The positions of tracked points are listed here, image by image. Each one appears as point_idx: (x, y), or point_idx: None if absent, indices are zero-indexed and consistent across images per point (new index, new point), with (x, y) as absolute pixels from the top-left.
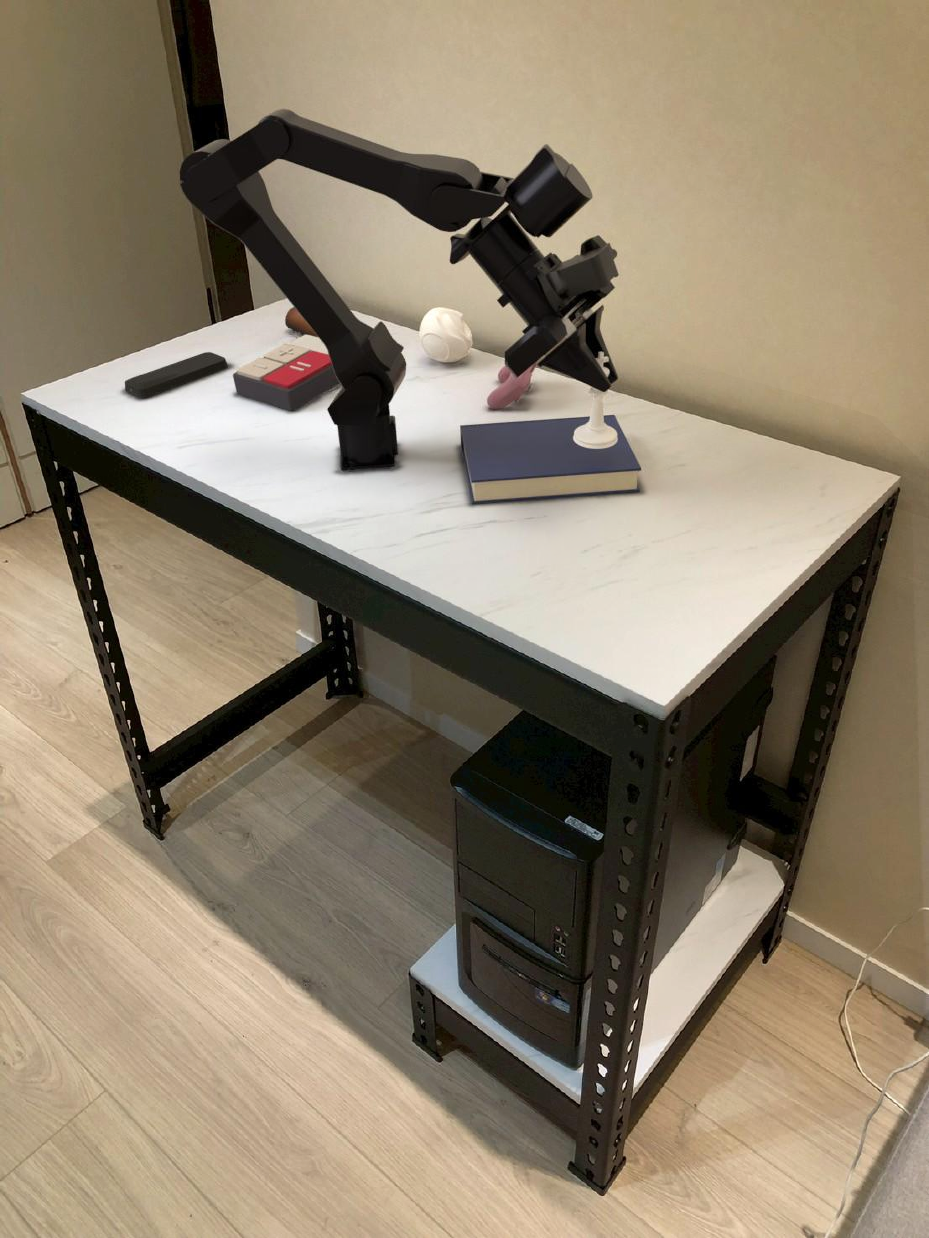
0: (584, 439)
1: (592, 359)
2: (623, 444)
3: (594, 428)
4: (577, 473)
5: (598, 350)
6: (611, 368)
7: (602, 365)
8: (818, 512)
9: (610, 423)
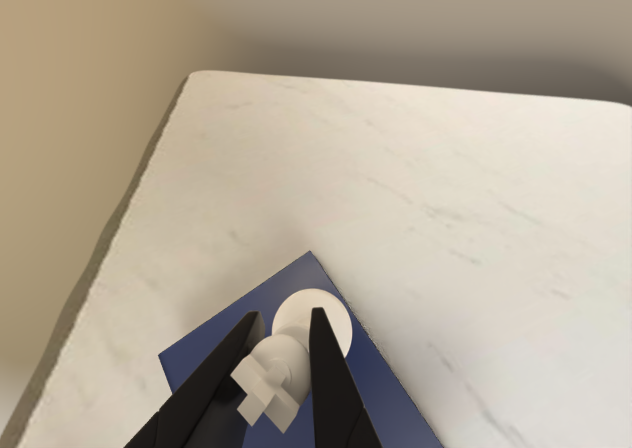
0: (348, 340)
1: (347, 422)
2: (251, 300)
3: None
4: (364, 332)
5: (199, 441)
6: (246, 338)
7: (272, 371)
8: (280, 97)
9: (189, 348)
